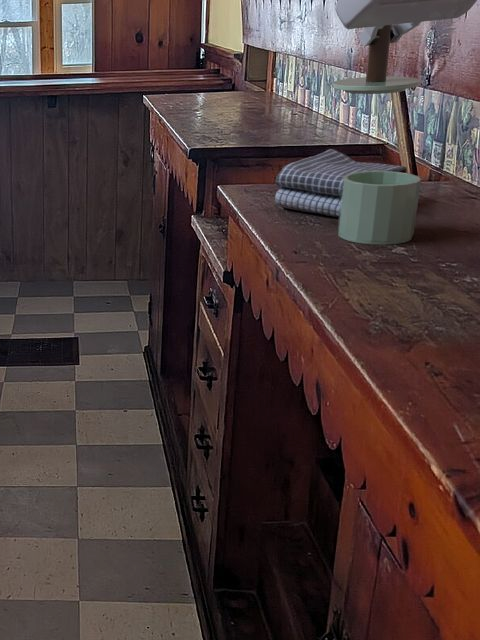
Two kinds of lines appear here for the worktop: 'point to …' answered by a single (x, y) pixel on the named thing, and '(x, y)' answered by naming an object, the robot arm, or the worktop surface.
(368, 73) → the lid
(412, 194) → the canister
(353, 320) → the worktop surface
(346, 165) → the towel
